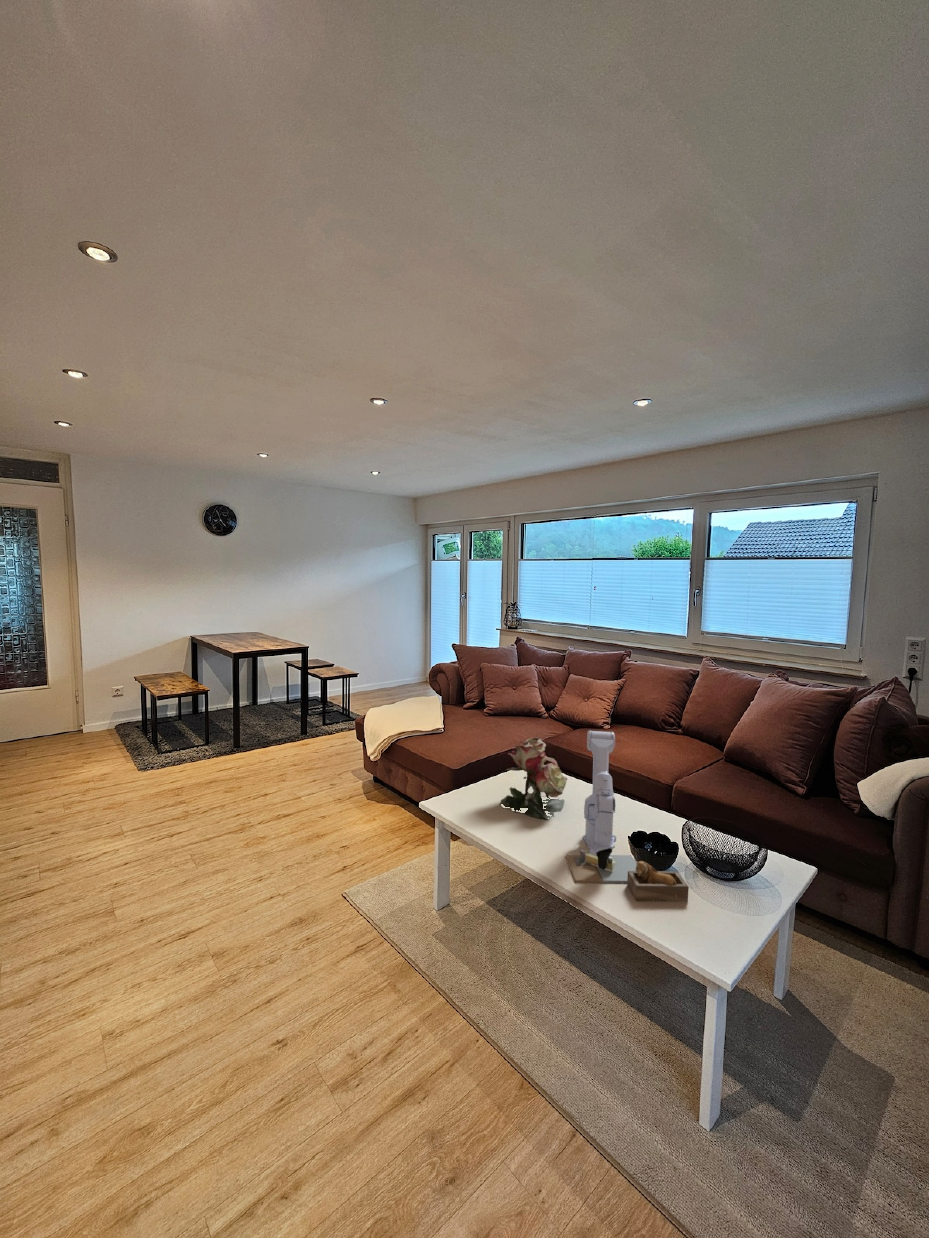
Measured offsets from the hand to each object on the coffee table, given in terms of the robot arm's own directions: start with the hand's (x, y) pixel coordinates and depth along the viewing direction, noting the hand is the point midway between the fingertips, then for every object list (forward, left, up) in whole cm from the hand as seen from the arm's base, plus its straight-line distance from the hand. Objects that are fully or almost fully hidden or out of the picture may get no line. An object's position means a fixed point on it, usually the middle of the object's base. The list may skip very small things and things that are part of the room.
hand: (602, 867), depth 176 cm
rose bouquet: (-54, -14, -2) cm, 56 cm away
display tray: (+11, +15, -2) cm, 18 cm away
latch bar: (-2, 0, 0) cm, 2 cm away
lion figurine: (+11, +15, -2) cm, 18 cm away
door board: (-2, +2, -2) cm, 4 cm away
